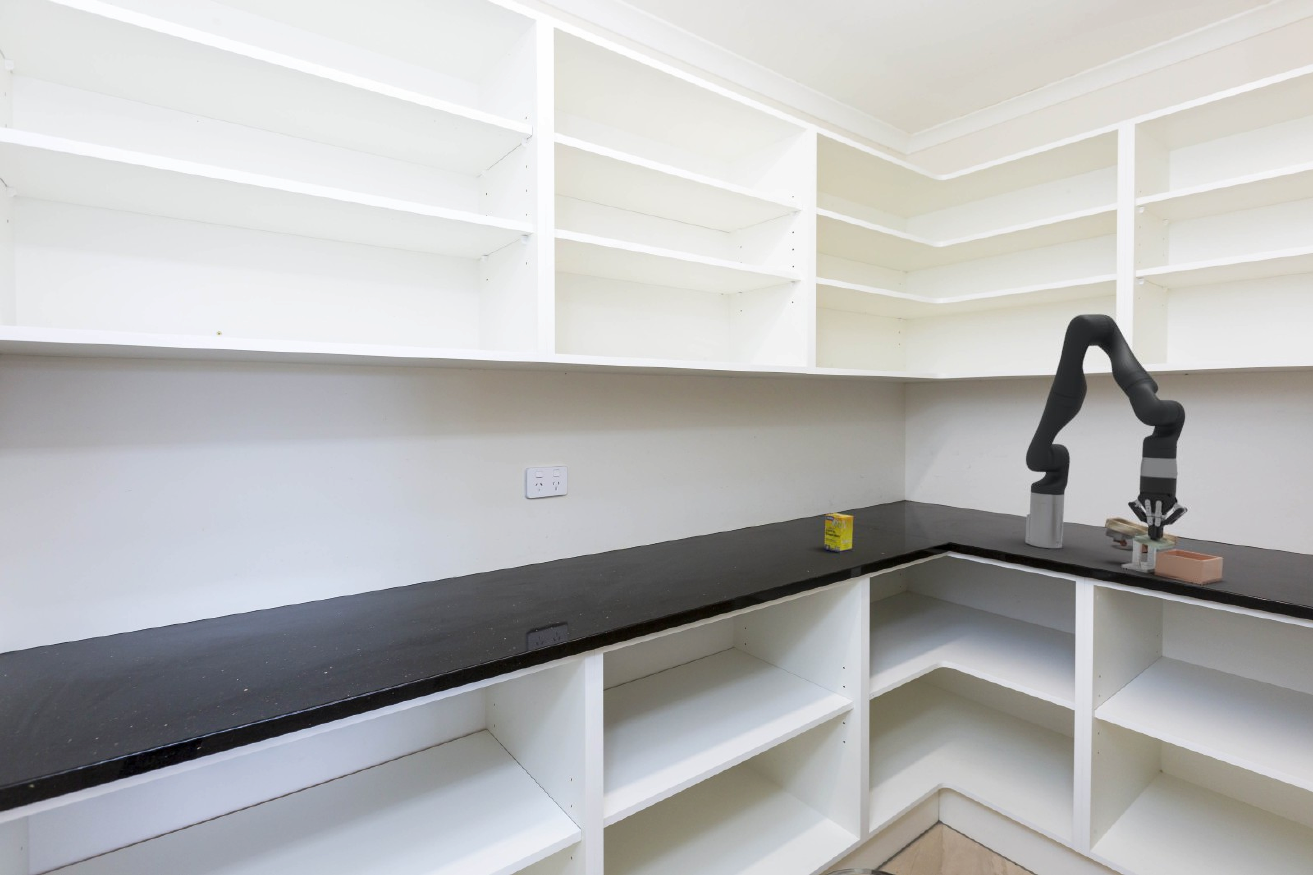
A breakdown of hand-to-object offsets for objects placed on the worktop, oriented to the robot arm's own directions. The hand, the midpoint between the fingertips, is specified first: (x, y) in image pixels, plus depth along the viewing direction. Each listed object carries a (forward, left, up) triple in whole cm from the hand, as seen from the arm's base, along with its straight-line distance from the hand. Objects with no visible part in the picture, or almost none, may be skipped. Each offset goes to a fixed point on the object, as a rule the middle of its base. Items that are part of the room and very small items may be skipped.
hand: (1155, 539), depth 160 cm
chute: (-6, +3, -3) cm, 8 cm away
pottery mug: (-19, +33, -10) cm, 39 cm away
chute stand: (-5, +7, -10) cm, 13 cm away
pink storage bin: (+5, +7, -10) cm, 13 cm away
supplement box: (-56, -59, -10) cm, 82 cm away
